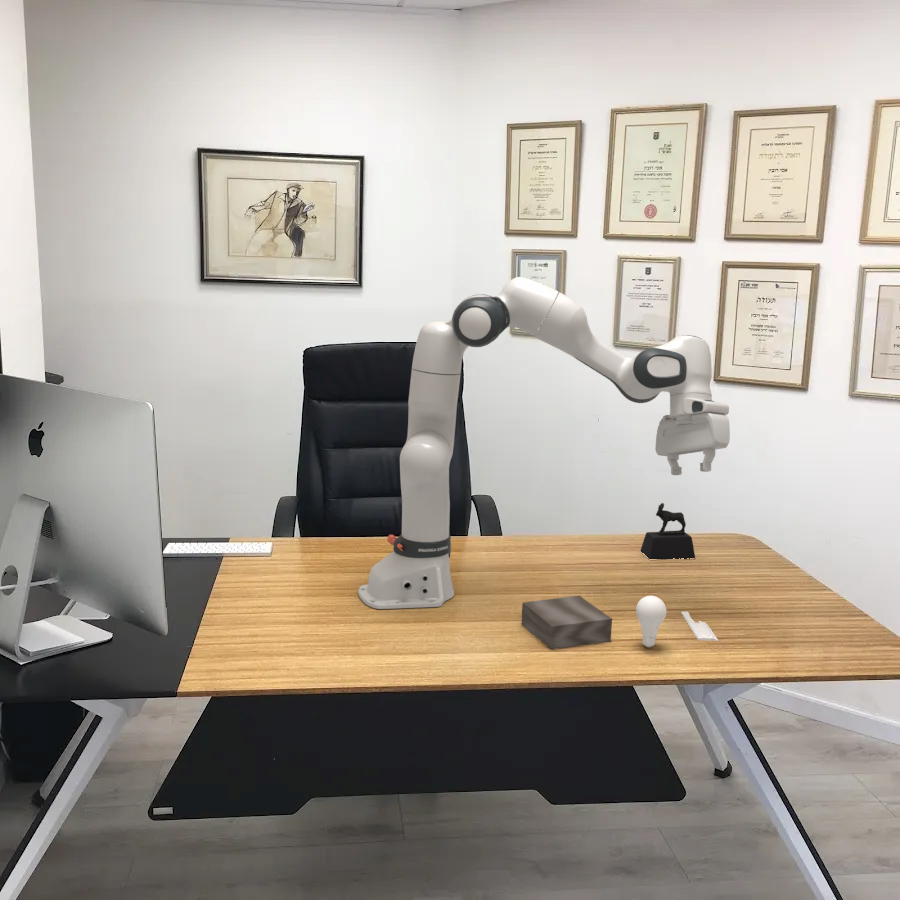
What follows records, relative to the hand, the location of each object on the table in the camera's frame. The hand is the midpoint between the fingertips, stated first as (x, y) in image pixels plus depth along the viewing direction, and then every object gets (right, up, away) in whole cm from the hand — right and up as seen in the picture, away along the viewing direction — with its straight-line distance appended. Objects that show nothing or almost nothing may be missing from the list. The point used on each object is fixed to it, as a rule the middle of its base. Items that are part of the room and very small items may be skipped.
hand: (690, 473), depth 201 cm
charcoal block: (-27, -34, -2) cm, 44 cm away
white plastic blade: (+3, -34, +3) cm, 35 cm away
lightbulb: (-11, -36, -8) cm, 38 cm away
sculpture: (+7, -24, +52) cm, 58 cm away
